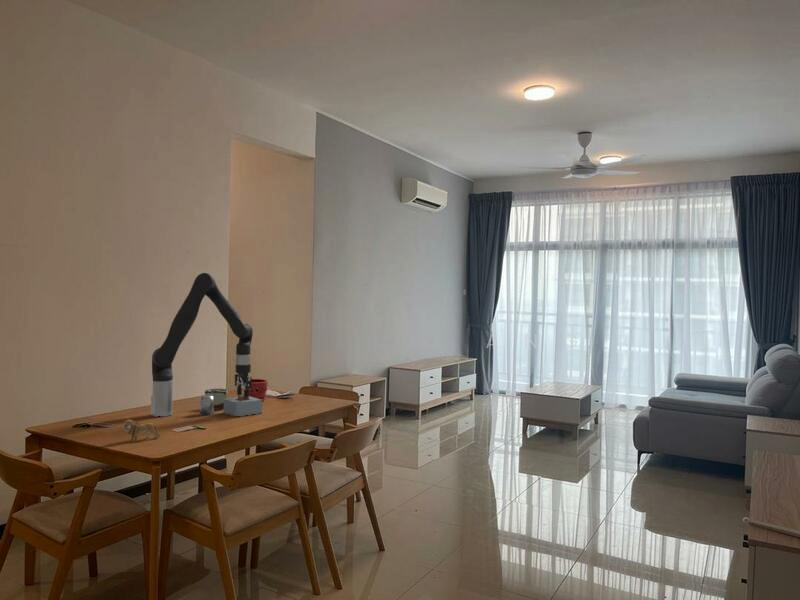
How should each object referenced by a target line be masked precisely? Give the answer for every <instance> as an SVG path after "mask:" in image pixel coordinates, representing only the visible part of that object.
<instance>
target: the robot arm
mask: <svg viewBox="0 0 800 600" xmlns="http://www.w3.org/2000/svg"><path fill="white" fill-rule="evenodd" d="M205 296H206V297H208V299H209V300H210V301H211V302H212V304H214V306H215V307H216V309H217V310H218V312H219V314H221V316H222V317H223V319H224V320H225V321H226V322H227V324H228V325H229V327H230V329H231V332H232V333H233V334H234V335H235V337H237V338H238V343H237V344H236V346H235V373H236V374H234V386H235V387H236V394H237V396H238V395H244V397H248V396H249V390H250V389H251V384H252V379H253V378H252V376H249V373H251V371H252V366H251V364H252V357H251V344H252V340H253V339H252V338H253V333H254V331H253V328H252V326H251V325H250V324H248V323H243V321H242V320H241V315H240V314H239V312H238V310H237V309H236V308H235V307H234V305H232V304H231V302H230V301H229V300H228V299H227V298H226V297H225V295H223V293H222V292H221V291H220V288H219V286H218V284H217V283H216V280H215V279H214V277H213V276H212V275H211V274H210V273H206V272H202V273H200V274H198V275H197V276H196V277H195V279H194V281H193V283H192V286H191V288H190V290H189V293H188V295H187V296H186V298H184V299H185V300H183V303H182V304H181V306H180V308H179V309H178V311H177V313H175V316H174V318H173V319H172V322H171V325H170V328H169V331H168V334H167V336H166V338H165V340H164V341H163V343H162V345H161V346H159V347H158V348H157V349H155V350H154V351H153V353H152V354H151V375H152V395H150V415H151V416H152V417H157V418H158V416H160V418H162V417H169V415H170V416H173V392H174V391H173V388H174V387H173V383H174V382H173V380H174V379H173V378H174V376H173V369H172V368H173V366H172V364H173V362H174V360H175V357H176V355H177V353H178V351H179V348H180V345H181V344H182V343H183V341H184V339H185V338H186V337H187V335H188V333H189V332H190V330H191V328H192V327H193V325H194V323H195V321H196V319H197V317H198V314H199V312H200V311H199V310H200V307H201V303H202V302H203V299H204V298H205ZM249 384H250V385H249ZM245 385H246V386H245ZM242 387H243V388H242ZM242 389H243V390H242ZM242 391H243V392H242ZM161 416H162V417H161Z"/></svg>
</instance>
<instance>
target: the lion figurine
mask: <svg viewBox="0 0 800 600" xmlns="http://www.w3.org/2000/svg"><path fill="white" fill-rule="evenodd" d="M122 426H123V431H124V432H125V433H127V434H128V435H131V439H130V441H131V440H132V442H133V441H136V442H137V441H138V434H144V433H146V432H147V433H148V436H146V437H145V438H146V439H150V437H151V436H152V435H154V437H153V438H154V440H157V439H158V437H160V436H161V435H160V434H159V433H158V428H157V426H156V424H155V423H153V422H146V423H143V424H141V423H138V421H133V420H132V419H127V420H124V422H123V425H122Z"/></svg>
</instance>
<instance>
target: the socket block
mask: <svg viewBox="0 0 800 600" xmlns="http://www.w3.org/2000/svg"><path fill="white" fill-rule="evenodd" d="M223 413H224V414H226V413H227V415H229V414H230V415H229V416H232V415H233V416H232V417H234V416H236V417H235V418H238V417H237V416H241V417H246V416H245V415H248V416H253V415H252V414H256V415H260V414H259V413H262V414H263V402H262V400H261V399H257V398H254V397H250V396H249V400H243V401H239V400H238V396H237V397H230V398H226V399H224V410H223Z"/></svg>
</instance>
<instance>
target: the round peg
mask: <svg viewBox="0 0 800 600" xmlns="http://www.w3.org/2000/svg"><path fill="white" fill-rule="evenodd" d="M214 411H215V409H214V396H213V395H206V394H203V395H200V396H199V415H200V414H202V415H201V416H210V415H209V414H213V415H214V414H215V413H214Z"/></svg>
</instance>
